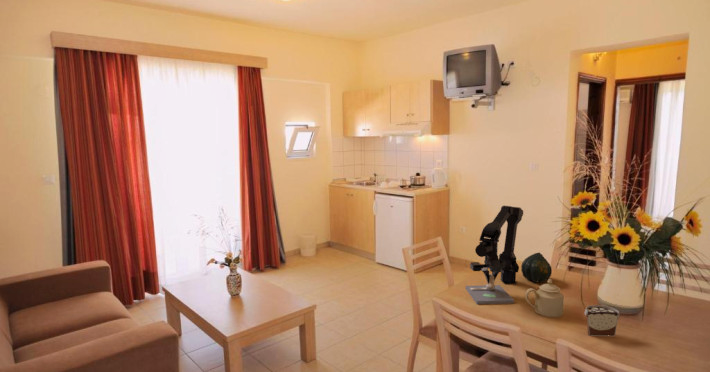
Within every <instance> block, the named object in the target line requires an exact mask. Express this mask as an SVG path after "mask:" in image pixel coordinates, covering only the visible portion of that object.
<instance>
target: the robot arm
mask: <svg viewBox="0 0 710 372" xmlns="http://www.w3.org/2000/svg"><path fill="white" fill-rule="evenodd" d="M523 216H524V210H523V209H522V207H519V206H510V205H501V208H500V210H499V212H498V213H497V215H496V216H495V217H494V219H493V221H491V222H489V223H487V224H486V225H485V226H484V227H483V228H482V230H481V234H480V236H479V244H478V245H477V246H476V247H475V249H474V250H475V253H476V255H477V256H478V257H480V258H483V257H484V261H483V263H484V264H483V263H482V264H481V263H480V262H479V261H471V262H470V264H469V265H470V266H469V268H470V269H471V270H472V272H482V273H483V274H484V276H485V279H486V283H487V282H488V284H489V274H490V272H491V274H492V275H493V276H494V282H495V281H496V278H497V276H498V274H500V279H499V280H500V281H501V282H502V283H503V284H504V285H506V284H507V285H508V284H510V285H511V284H512V285H514V284H518V283H517V281H516V280H517V279H516V278H517V273H519V270H520V266H519V264H518V263H517V256H516V254H515V245H516V238H517V229H518V224H520V222H521V221H522V219H523ZM505 223H507V224H506V225H507V226H506V232H505V241H504V248H503V251H502V252H501V253H499V255H498V246H499V244H498V242H500V238H501V237H500V236H501V234H502V227H503V226H504V224H505Z"/></svg>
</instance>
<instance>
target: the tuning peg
mask: <svg viewBox="0 0 710 372" xmlns="http://www.w3.org/2000/svg"><path fill="white" fill-rule="evenodd" d="M485 285H486V288H471V290H479V289H487V290H489V291H494V290H495V285H496V284H495V281H494V276H493V275H492V273H489V284H488V282H487V281H486V284H485Z"/></svg>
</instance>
